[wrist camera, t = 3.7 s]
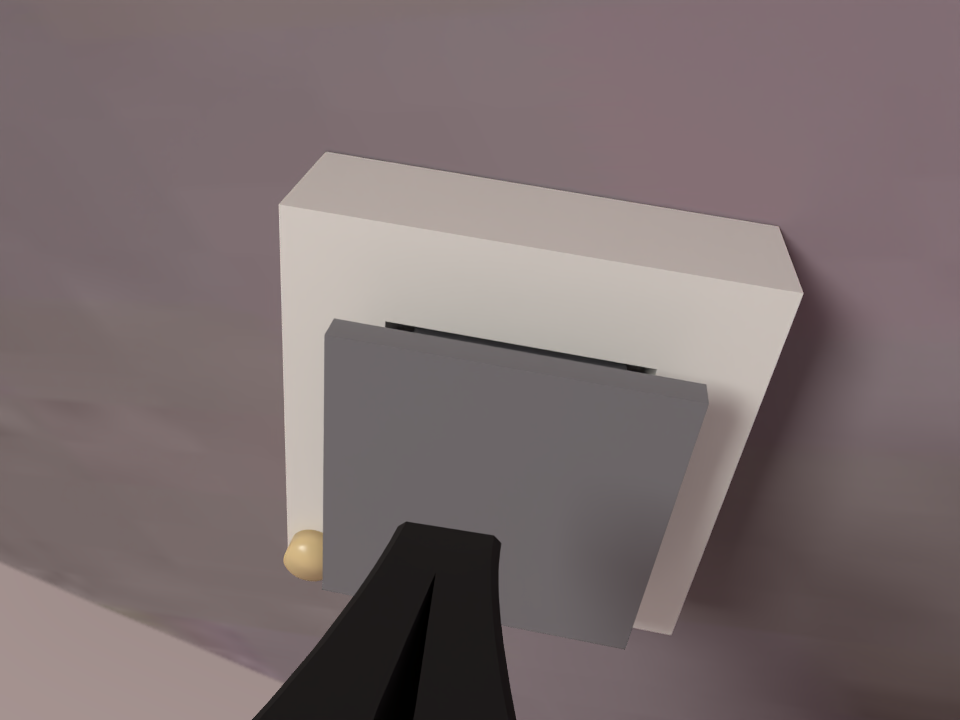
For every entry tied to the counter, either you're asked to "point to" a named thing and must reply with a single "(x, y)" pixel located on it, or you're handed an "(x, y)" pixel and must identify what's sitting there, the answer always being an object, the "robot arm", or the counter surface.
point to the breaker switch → (505, 467)
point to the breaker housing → (533, 312)
